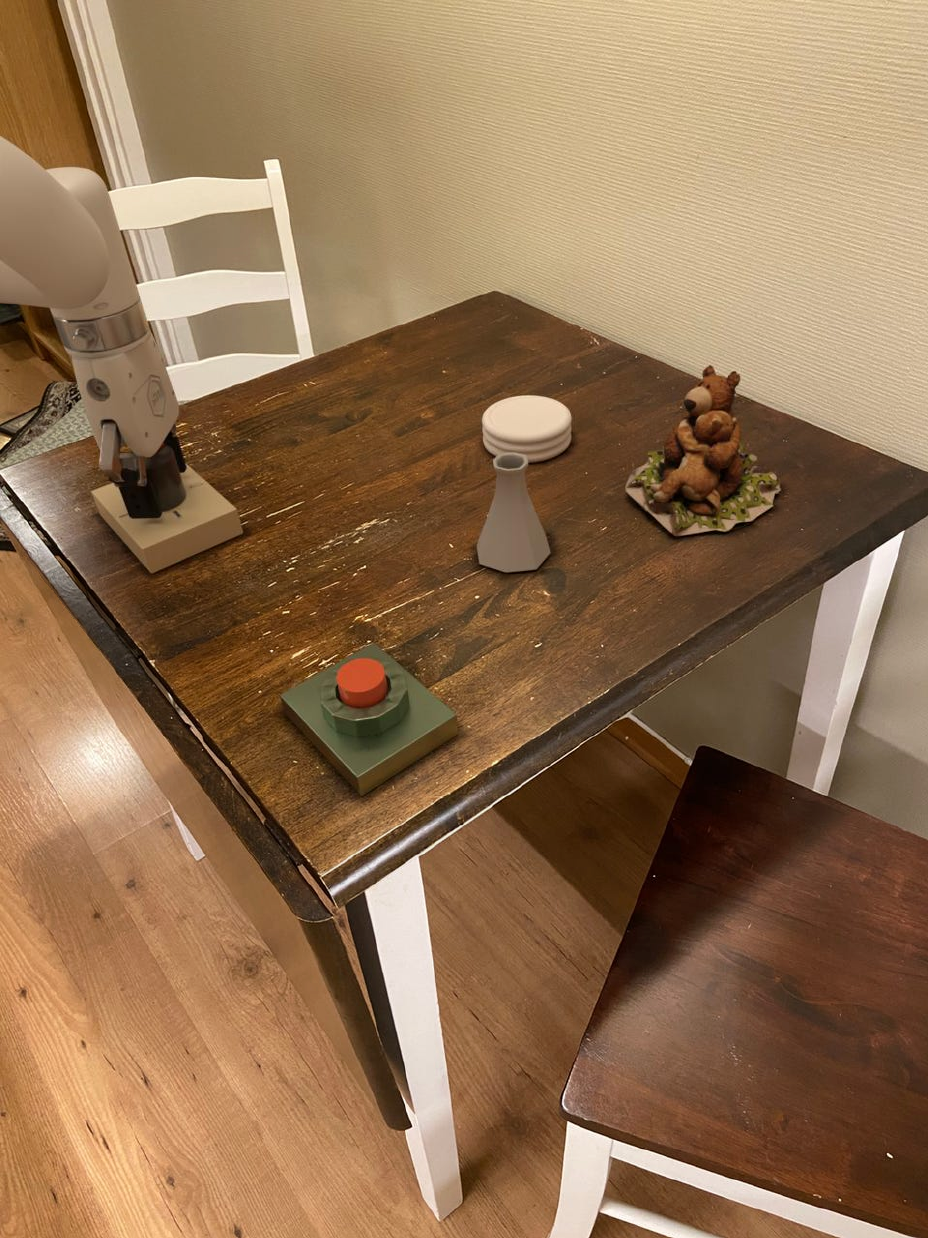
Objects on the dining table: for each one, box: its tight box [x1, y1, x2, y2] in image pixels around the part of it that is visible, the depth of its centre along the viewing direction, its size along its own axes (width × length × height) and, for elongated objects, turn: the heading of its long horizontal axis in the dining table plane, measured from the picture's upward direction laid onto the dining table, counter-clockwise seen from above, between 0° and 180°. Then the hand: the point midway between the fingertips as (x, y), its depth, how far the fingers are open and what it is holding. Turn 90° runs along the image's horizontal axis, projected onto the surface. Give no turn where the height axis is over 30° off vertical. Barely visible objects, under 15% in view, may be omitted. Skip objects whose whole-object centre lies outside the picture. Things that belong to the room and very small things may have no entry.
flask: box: [476, 452, 551, 573], centre depth 81 cm, size 7×7×10 cm
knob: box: [122, 442, 186, 512], centre depth 88 cm, size 5×5×5 cm
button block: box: [279, 642, 460, 797], centre depth 67 cm, size 11×9×4 cm
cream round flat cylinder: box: [481, 395, 573, 464], centre depth 99 cm, size 10×10×4 cm
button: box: [337, 658, 388, 708], centre depth 66 cm, size 4×4×2 cm
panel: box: [90, 463, 244, 574], centre depth 91 cm, size 14×10×3 cm
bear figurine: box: [625, 364, 782, 537], centre depth 86 cm, size 14×15×12 cm
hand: (159, 492), depth 89 cm, fingers open, 7 cm apart
